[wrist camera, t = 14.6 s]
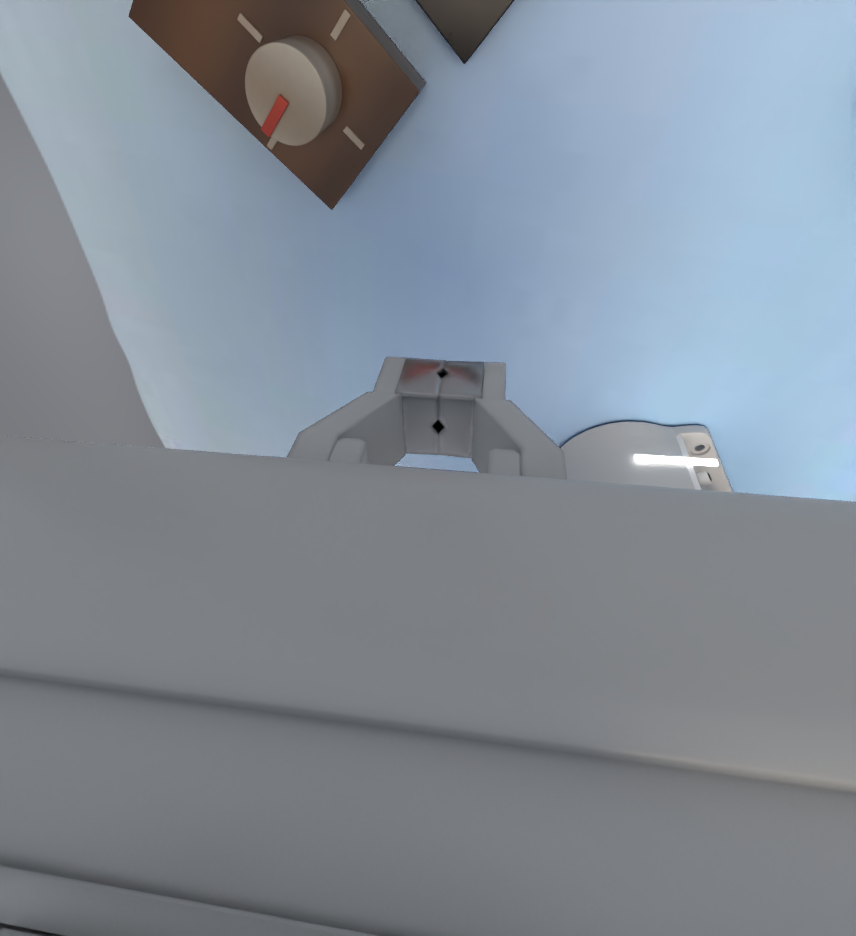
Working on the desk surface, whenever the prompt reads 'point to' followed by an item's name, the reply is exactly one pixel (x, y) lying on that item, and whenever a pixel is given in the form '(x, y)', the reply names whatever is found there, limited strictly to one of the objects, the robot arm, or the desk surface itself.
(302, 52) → the dial
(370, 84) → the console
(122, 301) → the desk surface
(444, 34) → the control block
